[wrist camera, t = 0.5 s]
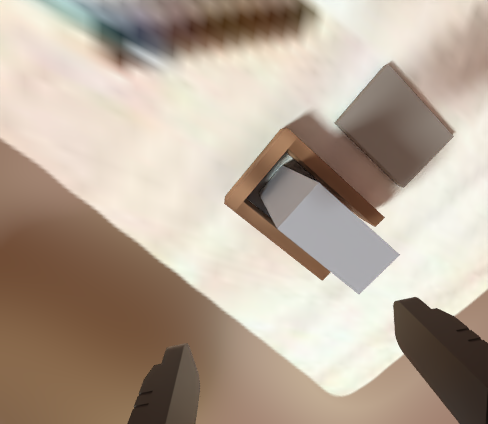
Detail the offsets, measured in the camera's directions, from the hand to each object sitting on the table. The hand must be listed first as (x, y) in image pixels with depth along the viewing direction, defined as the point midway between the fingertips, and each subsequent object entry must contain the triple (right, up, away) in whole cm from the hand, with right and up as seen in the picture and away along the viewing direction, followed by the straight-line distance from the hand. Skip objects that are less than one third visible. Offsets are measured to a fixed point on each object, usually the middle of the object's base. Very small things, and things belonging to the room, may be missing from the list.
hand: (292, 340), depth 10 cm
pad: (+16, +15, +21) cm, 31 cm away
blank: (+5, +6, +23) cm, 25 cm away
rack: (+6, +6, +23) cm, 25 cm away
